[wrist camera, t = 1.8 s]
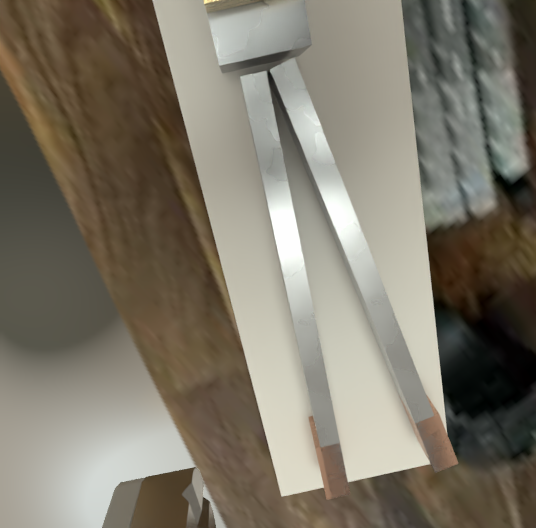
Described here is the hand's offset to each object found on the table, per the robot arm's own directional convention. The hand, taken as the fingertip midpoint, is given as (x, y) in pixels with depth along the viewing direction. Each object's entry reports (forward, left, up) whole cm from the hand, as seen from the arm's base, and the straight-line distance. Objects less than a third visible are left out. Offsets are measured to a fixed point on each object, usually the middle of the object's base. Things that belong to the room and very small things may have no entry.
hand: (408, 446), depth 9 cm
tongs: (+2, 0, -19) cm, 19 cm away
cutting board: (+3, +1, -20) cm, 20 cm away
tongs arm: (+4, +3, -18) cm, 19 cm away
